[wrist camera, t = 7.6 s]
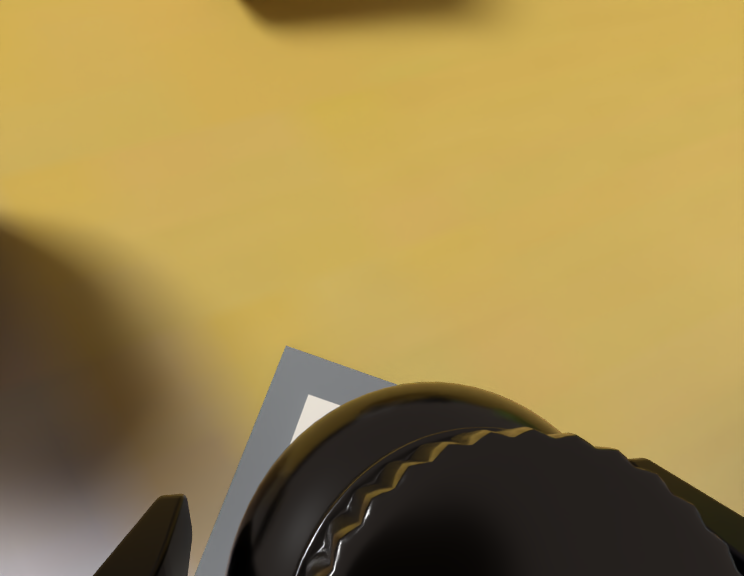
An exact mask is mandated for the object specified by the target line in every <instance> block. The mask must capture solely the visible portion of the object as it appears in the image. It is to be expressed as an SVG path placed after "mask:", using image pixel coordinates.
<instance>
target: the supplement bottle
mask: <svg viewBox="0 0 744 576" xmlns="http://www.w3.org/2000/svg"><path fill="white" fill-rule="evenodd" d="M225 576H743V575H742V574H741V573H740V572H739V571H738V570H737V567H736V564H735V561H734V559H733V556H732V554H731V551H730V549H729V547H728V544H727V543H725V542H724V541H723V540H722V539H721V538H720V537H718V536H717V535H716V534H714V533H713V532H711V531H710V530H709V529H707V527H706V525H705V524H704V522H703V520H702V517H701V515H700V514H699V512H698V510H697V509H696V507H695V505H694V504H692V503H690V502H688V501H687V500H685V499H683V498H681V497H678V496H676V495H674V494H673V493H672V492H671V491H670V489H669V488H668V487H667V485H666V483H665V482H664V481H663V479H662V478H661V477H660V476H659V475H658V473H655V472H652V471H649V470H646V469H643V468H638V467H635V466H634V465H633V464H632V463H631V462H630V461H629V460H628V458H627V457H625V456H624V455H623V454H622V453H621V452H620V451H619V450H617V449H614V448H609V447H594V446H592V445H591V444H590V443H588V442H587V441H585V440H584V439H582V438H580V437H579V436H577V435H575V434H572V433H561V432H560V431H559V430H557V429H556V428H555V427H554V426H552V425H551V424H550V423H549V422H547V421H546V420H545V419H543V418H542V417H540V416H539V415H537V414H535V413H534V412H532V411H531V410H529V409H527V408H526V407H524V406H522V405H520V404H518V403H516V402H514V401H512V400H510V399H508V398H505V397H503V396H500V395H498V394H495V393H492V392H489V391H486V390H483V389H479V388H476V387H471V386H466V385H461V384H454V383H444V382H418V383H408V384H401V385H396V386H391V387H387V388H383V389H380V390H377V391H373V392H370V393H367V394H365V395H362V396H360V397H358V398H355V399H353V400H351V401H348V402H346V403H345V404H343V405H341V406H339V407H337V408H336V409H334V410H332V411H330V412H329V413H327V414H326V415H324V416H323V417H322V418H320V419H319V420H317V421H316V422H314V423H313V424H312V425H311V426H310V427H308V428H307V429H306V430H305V431H304V432H302V433H301V434H300V435H299V436H298V437H297V438H296V439H295V440H294V441H293V442H292V443H291V444H290V445H289V446H288V447H287V448H286V449H285V450H284V452H283V453H282V454H281V455H280V456H279V458H278V459H277V460H276V461H275V463H274V464H273V465H272V466H271V468H270V469H269V471H268V472H267V474H266V475H265V477H264V478H263V480H262V481H261V483H260V484H259V486H258V488H257V490H256V492H255V493H254V495H253V497H252V499H251V501H250V502H249V504H248V507H247V509H246V511H245V514H244V516H243V518H242V520H241V523H240V525H239V528H238V531H237V533H236V536H235V539H234V542H233V545H232V548H231V551H230V555H229V559H228V564H227V568H226V572H225Z"/></svg>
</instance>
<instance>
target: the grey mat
mask: <svg viewBox="0 0 744 576" xmlns="http://www.w3.org/2000/svg"><path fill="white" fill-rule="evenodd" d="M391 386H396V384H394V383H391V382H388V381H385V380H382V379H379V378H377V377H374V376H371V375H368V374H365V373H362V372H359V371H357V370H354V369H351V368H348V367H345V366H342V365H339V364H337V363H334V362H331V361H328V360H325V359H322V358H320V357H317V356H314V355H311V354H308V353H305V352H302V351H300V350H297V349H294V348H291V347H288V346H286V347H285V349H284V352H283V354H282V357H281V360H280V362H279V365H278V367H277V370H276V372H275V375H274V377H273V380H272V382H271V385H270V387H269V390H268V392H267V395H266V397H265V400H264V402H263V405H262V407H261V410H260V412H259V415H258V417H257V420H256V422H255V425H254V427H253V430H252V432H251V435H250V437H249V440H248V442H247V445H246V447H245V450H244V452H243V455H242V457H241V460H240V462H239V465H238V467H237V470H236V473H235V475H234V478H233V480H232V483H231V485H230V488H229V490H228V493H227V495H226V498H225V500H224V503H223V505H222V508H221V510H220V513H219V515H218V518H217V520H216V523H215V525H214V528H213V530H212V533H211V535H210V538H209V540H208V543H207V545H206V548H205V550H204V553H203V555H202V558H201V560H200V563H199V565H198V568H197V570H196V573H195V575H194V576H225V572H226V568H227V564H228V559H229V555H230V551H231V548H232V545H233V542H234V539H235V536H236V533H237V531H238V528H239V525H240V523H241V520H242V518H243V516H244V514H245V511H246V509H247V507H248V504H249V502H250V501H251V499H252V497H253V495H254V493H255V492H256V490H257V488H258V486H259V484H260V483H261V481H262V480H263V478H264V477H265V475H266V474H267V472H268V471H269V469H270V468H271V466H272V465H273V464H274V463H275V461H276V460H277V459H278V458H279V456H280V455H281V454H282V453H283V452H284V450H285V449H286V448H287V447H288V446H289V445H290V444H291V443H292V442H293V441H294V440H295V439H296V438H297V437H298V436H299V435H300V434H301V433H302V432H304V431H305V430H306V429H307V428H308V427H310V426H311V425H312V424H313V423H314V422H316V421H317V420H319V419H320V418H322V417H323V416H324V415H326V414H327V413H329V412H330V411H332V410H334V409H336V408H337V407H339V406H341V405H343V404H345V403H346V402H348V401H351V400H353V399H355V398H358V397H360V396H362V395H365V394H367V393H370V392H373V391H377V390H380V389H383V388H387V387H391Z"/></svg>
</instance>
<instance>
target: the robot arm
mask: <svg viewBox="0 0 744 576" xmlns="http://www.w3.org/2000/svg"><path fill="white" fill-rule="evenodd" d="M628 460H629V461H630V462H631V463H632V464H633V465H634V466H635V467H638V468H643V469H646V470H649V471H652V472H655V473H658V475H659V476H660V477H661V478H662V479H663V481H664V482H665V483H666V485H667V487H668V488H669V489H670V491H671V492H672V493H673V494H674V495H676V496H678V497H681V498H683V499H685V500H687V501H688V502H690V503H692V504H694V505H695V507H696V509H697V510H698V512H699V514H700V515H701V517H702V520H703V522H704V524H705V525H706V527H707V529H709V530H710V531H711V532H713V533H714V534H716V535H717V536H718V537H720V538H721V539H722V540H723V541H724V542H725V543H727V544H728V547H729V549H730V551H731V554H732V556H733V559H734V561H735V564H736V567H737V570H738V571H739V572H740V573H741V574H742V575H743V576H744V517H742V516H741V515H739V514H738V513H736V512H734V511H733V510H731V509H729V508H728V507H726V506H724V505H723V504H721V503H719V502H718V501H716V500H714V499H713V498H711V497H709V496H708V495H706V494H705V493H703V492H701V491H700V490H698V489H696V488H695V487H693V486H691V485H690V484H688V483H686V482H685V481H683V480H681V479H680V478H678V477H676V476H675V475H673V474H672V473H670V472H668V471H667V470H665V469H663V468H662V467H660V466H658V465H657V464H655V463H653V462H652V461H650V460H648V459H645V458H635V459H628ZM191 543H192V525H191V519H190V513H189V507H188V501H187V498H186V496H185V495H184V494H174V495H163V496H160V497H159V498H158V499H157V500H156V501H155V502H154V503H153V504H152V506H151V507H150V508H149V509H148V510H147V512H146V513H145V514H144V515H143V516H142V518H141V519H140V520H139V521H138V522H137V524H136V525H135V526H134V527H133V528H132V530H131V531H130V532H129V533H128V534H127V536H126V537H125V538H124V539H123V540H122V542H121V543H120V544H119V545H118V546H117V548H116V549H115V550H114V551H113V552H112V553H111V555H110V556H109V557H108V558H107V559H106V561H105V562H104V563H103V564H102V565H101V567H100V568H99V569H98V570H97V571H96V573H95V574H94V575H93V576H187V575H188V567H189V559H190V551H191Z"/></svg>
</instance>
